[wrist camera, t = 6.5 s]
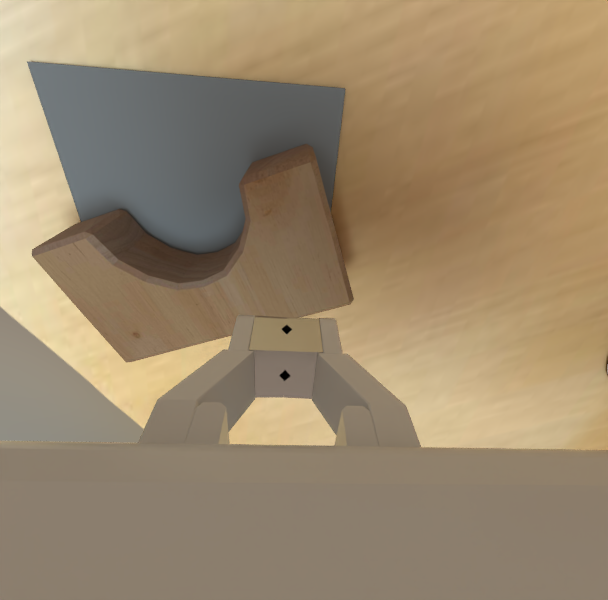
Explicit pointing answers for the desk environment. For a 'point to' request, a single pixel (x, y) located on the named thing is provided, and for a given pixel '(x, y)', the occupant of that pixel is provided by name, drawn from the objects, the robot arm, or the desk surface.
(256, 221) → the decorative block
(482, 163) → the desk surface
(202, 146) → the felt mat
